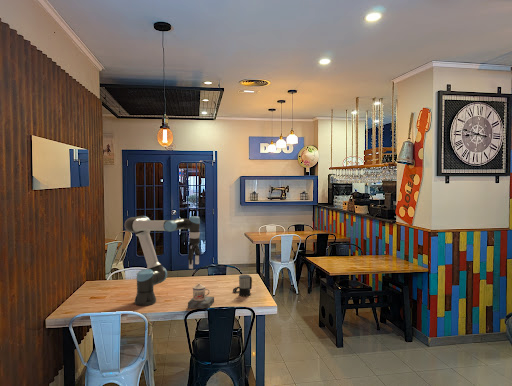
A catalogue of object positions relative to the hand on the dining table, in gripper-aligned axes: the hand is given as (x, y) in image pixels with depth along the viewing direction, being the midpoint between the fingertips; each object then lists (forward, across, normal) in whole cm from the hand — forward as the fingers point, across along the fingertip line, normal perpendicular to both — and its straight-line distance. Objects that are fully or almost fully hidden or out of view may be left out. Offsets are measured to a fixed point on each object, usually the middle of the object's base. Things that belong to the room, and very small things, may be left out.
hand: (194, 266), depth 273 cm
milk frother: (+26, +26, -31) cm, 48 cm away
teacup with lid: (+23, -5, -7) cm, 24 cm away
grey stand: (+26, -5, -8) cm, 28 cm away
